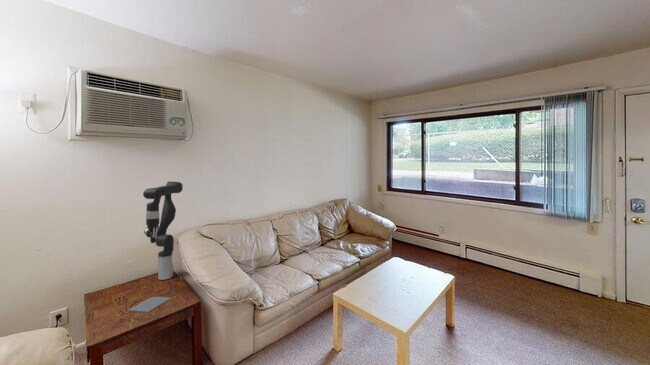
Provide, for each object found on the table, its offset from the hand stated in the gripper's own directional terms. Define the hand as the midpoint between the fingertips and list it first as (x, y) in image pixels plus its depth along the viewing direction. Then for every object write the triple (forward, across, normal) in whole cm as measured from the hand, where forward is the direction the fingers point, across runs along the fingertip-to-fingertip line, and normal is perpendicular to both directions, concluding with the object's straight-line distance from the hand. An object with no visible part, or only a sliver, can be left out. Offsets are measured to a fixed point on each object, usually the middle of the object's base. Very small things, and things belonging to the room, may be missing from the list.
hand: (153, 242), depth 173 cm
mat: (+35, +14, +11) cm, 39 cm away
